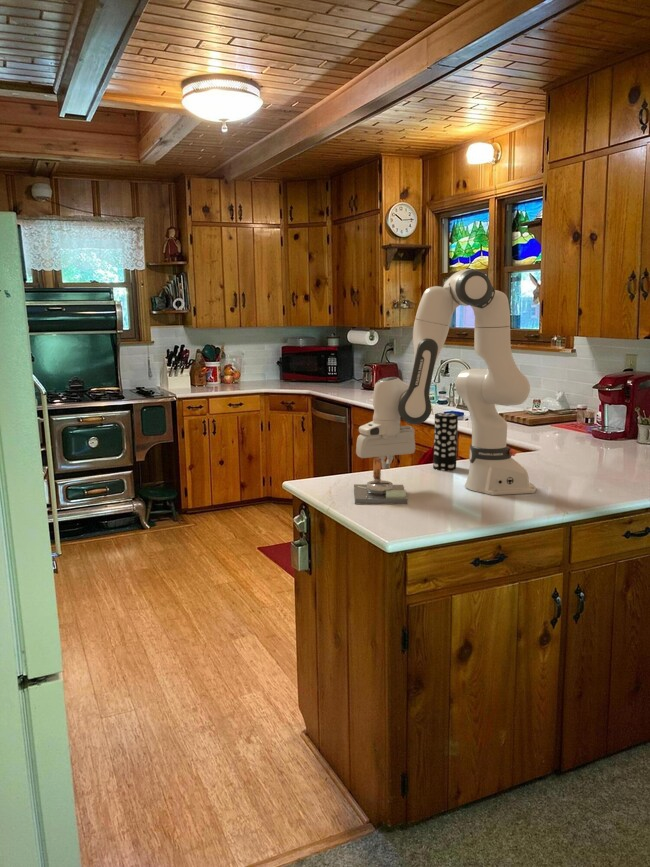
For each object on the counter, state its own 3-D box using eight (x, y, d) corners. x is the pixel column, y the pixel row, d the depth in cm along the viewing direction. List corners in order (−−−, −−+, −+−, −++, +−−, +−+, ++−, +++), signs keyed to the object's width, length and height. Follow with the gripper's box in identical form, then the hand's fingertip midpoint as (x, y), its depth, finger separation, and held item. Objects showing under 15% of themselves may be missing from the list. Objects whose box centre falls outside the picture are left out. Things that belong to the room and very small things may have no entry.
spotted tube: (431, 469, 255) (433, 415, 251) (435, 464, 263) (437, 412, 259) (454, 471, 252) (456, 417, 249) (457, 466, 260) (459, 413, 256)
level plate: (402, 489, 229) (402, 479, 228) (407, 504, 212) (407, 493, 212) (353, 488, 229) (353, 479, 229) (354, 503, 213) (355, 493, 212)
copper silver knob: (388, 483, 230) (388, 458, 228) (394, 494, 217) (394, 467, 215) (364, 483, 229) (364, 458, 228) (368, 494, 216) (368, 468, 215)
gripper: (409, 423, 233) (408, 463, 235) (354, 427, 225) (353, 469, 228) (419, 426, 227) (418, 467, 230) (362, 431, 219) (362, 473, 222)
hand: (385, 468), depth 229 cm, fingers closed
